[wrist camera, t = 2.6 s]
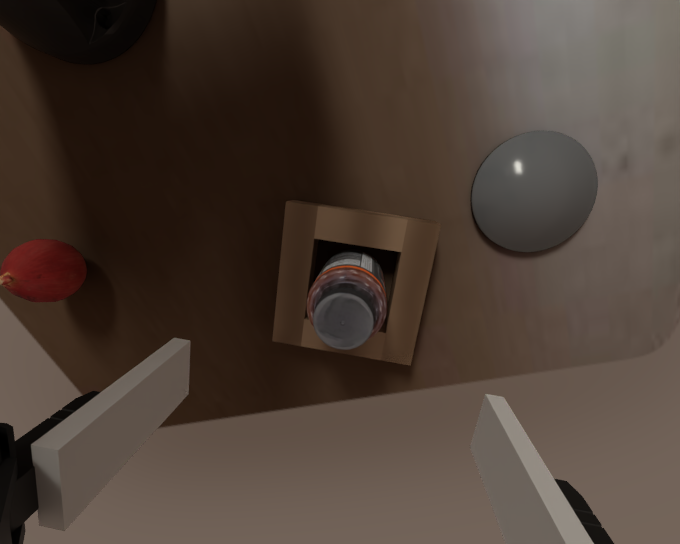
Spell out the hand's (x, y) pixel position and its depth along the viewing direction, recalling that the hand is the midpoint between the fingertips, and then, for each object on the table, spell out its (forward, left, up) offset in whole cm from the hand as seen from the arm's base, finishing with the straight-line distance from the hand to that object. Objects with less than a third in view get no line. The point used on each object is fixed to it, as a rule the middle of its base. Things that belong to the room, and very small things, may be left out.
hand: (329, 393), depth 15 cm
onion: (-28, -3, -19) cm, 34 cm away
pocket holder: (0, 0, -19) cm, 19 cm away
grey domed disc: (+14, +10, -19) cm, 25 cm away
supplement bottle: (0, 0, -19) cm, 19 cm away
